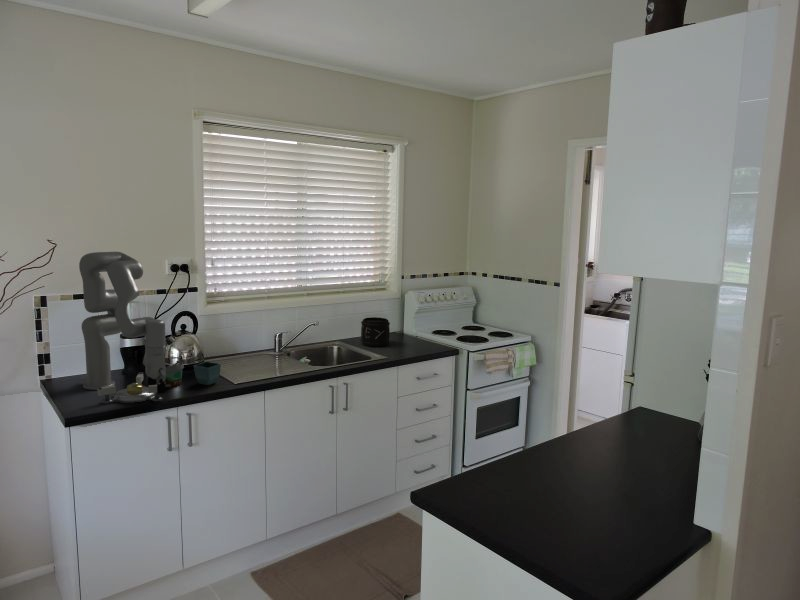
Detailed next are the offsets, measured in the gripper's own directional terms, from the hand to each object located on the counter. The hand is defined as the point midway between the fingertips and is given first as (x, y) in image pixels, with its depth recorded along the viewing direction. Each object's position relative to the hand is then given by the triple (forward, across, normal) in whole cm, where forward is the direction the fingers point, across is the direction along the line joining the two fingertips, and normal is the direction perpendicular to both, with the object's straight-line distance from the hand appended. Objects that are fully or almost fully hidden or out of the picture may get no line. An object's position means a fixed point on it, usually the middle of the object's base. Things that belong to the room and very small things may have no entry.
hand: (156, 390), depth 238 cm
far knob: (+3, 0, 0) cm, 3 cm away
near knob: (+3, -9, -16) cm, 19 cm away
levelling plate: (+4, -7, -4) cm, 9 cm away
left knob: (+3, -19, 0) cm, 19 cm away
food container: (+5, -15, +14) cm, 21 cm away
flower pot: (+5, -9, +27) cm, 29 cm away
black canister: (+4, -24, +143) cm, 145 cm away
